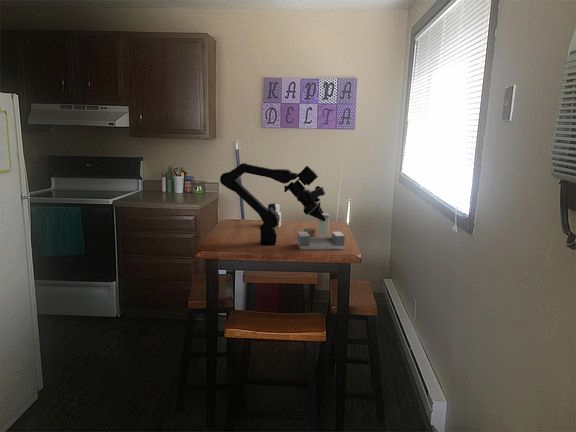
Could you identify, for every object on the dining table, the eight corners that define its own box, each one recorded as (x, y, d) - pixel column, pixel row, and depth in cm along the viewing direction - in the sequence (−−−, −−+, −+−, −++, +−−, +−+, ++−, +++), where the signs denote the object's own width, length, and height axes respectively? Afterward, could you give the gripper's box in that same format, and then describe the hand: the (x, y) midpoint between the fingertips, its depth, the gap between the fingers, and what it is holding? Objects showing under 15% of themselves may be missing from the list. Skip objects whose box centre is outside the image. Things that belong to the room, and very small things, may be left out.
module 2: (335, 245, 188) (336, 235, 187) (331, 241, 196) (332, 231, 195) (344, 245, 188) (344, 235, 188) (339, 241, 196) (340, 231, 195)
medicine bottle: (265, 227, 230) (265, 204, 228) (267, 224, 237) (268, 202, 235) (279, 228, 229) (279, 205, 227) (281, 225, 236) (281, 203, 234)
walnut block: (307, 238, 208) (307, 229, 207) (303, 236, 211) (303, 228, 210) (315, 237, 209) (315, 229, 209) (311, 235, 213) (311, 227, 212)
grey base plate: (300, 249, 186) (300, 242, 185) (296, 243, 196) (297, 237, 195) (344, 249, 188) (344, 242, 188) (338, 243, 198) (339, 237, 197)
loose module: (318, 235, 189) (318, 214, 187) (318, 233, 193) (319, 212, 192) (327, 235, 188) (328, 215, 187) (328, 233, 193) (329, 213, 191)
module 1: (300, 245, 186) (300, 235, 185) (297, 241, 194) (297, 231, 193) (309, 245, 186) (309, 235, 186) (306, 241, 194) (306, 231, 194)
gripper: (312, 182, 178) (338, 210, 179) (316, 178, 197) (339, 204, 197) (292, 200, 181) (318, 228, 181) (298, 195, 199) (321, 220, 199)
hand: (325, 219), depth 190 cm, fingers closed on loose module, 5 cm apart
